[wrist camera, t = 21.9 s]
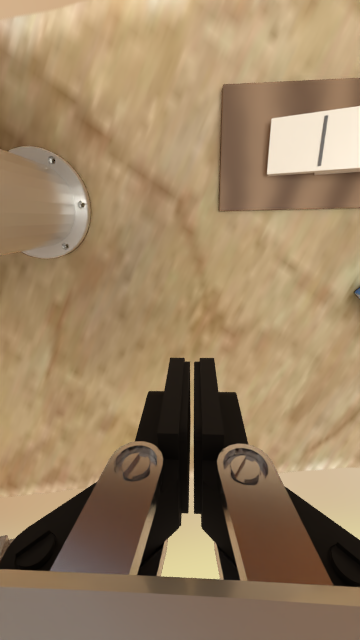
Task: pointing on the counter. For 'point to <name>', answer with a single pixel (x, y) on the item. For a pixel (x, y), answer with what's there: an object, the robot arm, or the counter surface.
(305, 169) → the domino
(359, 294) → the medicine box
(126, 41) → the counter surface
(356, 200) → the walnut board
